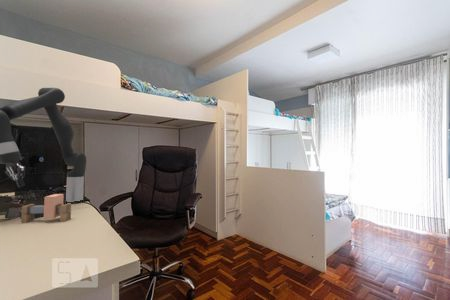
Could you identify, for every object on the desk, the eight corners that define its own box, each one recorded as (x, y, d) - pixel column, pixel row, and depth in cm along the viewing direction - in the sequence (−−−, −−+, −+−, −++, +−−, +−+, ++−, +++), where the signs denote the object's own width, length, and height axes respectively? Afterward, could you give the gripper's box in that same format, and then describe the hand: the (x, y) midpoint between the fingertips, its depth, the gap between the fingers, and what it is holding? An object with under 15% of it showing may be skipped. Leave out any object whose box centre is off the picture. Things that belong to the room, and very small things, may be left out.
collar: (53, 214, 103) (54, 194, 103) (62, 214, 103) (63, 194, 104) (43, 218, 96) (44, 196, 96) (53, 218, 96) (54, 196, 97)
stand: (29, 219, 100) (30, 204, 100) (70, 218, 103) (71, 203, 103) (21, 223, 95) (21, 206, 95) (64, 221, 98) (65, 205, 98)
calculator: (18, 210, 105) (53, 203, 118) (18, 218, 105) (53, 210, 118) (29, 213, 100) (64, 205, 113) (29, 221, 100) (64, 213, 113)
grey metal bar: (30, 212, 99) (31, 205, 100) (67, 211, 102) (68, 204, 102) (25, 214, 96) (25, 206, 96) (63, 213, 99) (63, 206, 99)
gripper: (25, 148, 100) (38, 182, 102) (10, 153, 104) (23, 185, 107) (5, 152, 93) (20, 188, 95) (-10, 156, 97) (4, 191, 100)
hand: (21, 186), depth 101 cm, fingers closed
